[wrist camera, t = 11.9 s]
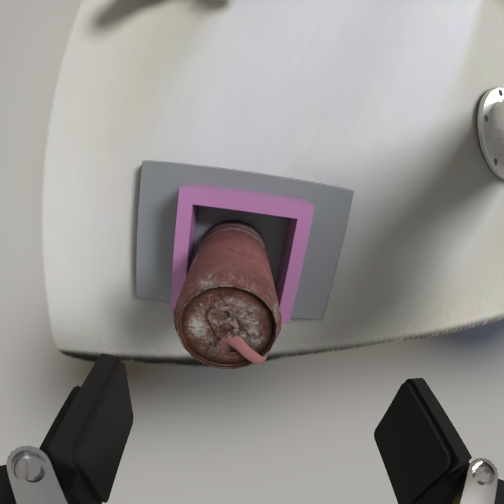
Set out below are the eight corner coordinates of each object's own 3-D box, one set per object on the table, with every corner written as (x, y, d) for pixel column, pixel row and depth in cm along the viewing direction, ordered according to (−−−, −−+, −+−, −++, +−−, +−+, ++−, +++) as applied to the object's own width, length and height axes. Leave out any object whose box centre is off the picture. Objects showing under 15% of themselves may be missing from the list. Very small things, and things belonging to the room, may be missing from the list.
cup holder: (348, 189, 29) (369, 197, 24) (319, 313, 33) (331, 340, 28) (147, 160, 28) (127, 163, 22) (140, 291, 32) (124, 315, 27)
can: (240, 292, 31) (240, 391, 17) (188, 254, 29) (150, 337, 16) (280, 246, 29) (310, 326, 16) (227, 205, 28) (214, 257, 15)
